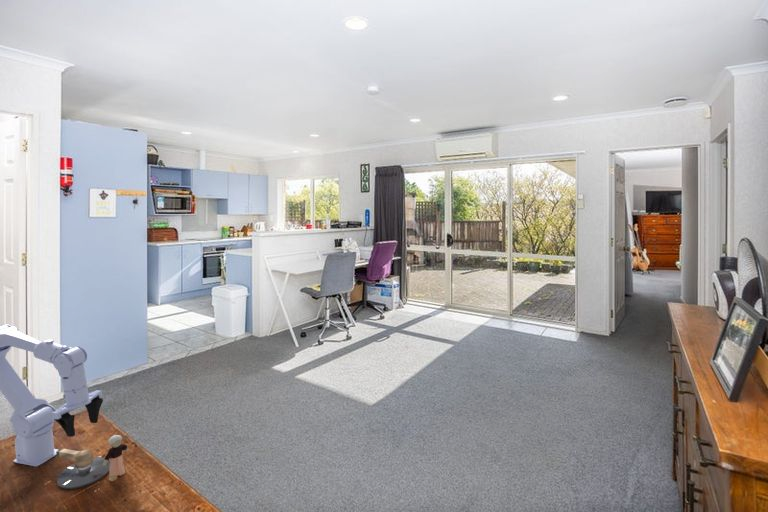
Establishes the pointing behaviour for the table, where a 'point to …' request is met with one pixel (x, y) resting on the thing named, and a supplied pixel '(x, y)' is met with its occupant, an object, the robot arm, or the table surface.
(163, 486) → the table surface
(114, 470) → the grandmother figurine
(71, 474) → the post base
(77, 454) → the wooden scoop
